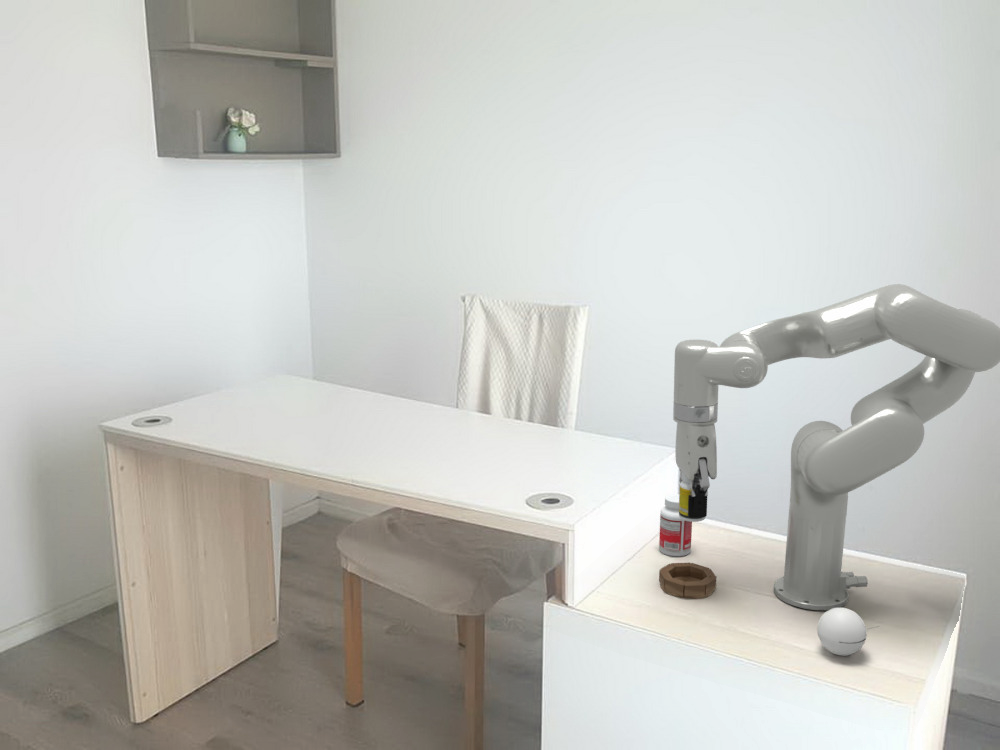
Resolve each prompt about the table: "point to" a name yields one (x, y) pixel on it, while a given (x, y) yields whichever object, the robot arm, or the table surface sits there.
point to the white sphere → (842, 631)
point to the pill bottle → (674, 529)
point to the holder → (687, 580)
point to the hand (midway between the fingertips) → (692, 509)
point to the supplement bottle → (686, 499)
